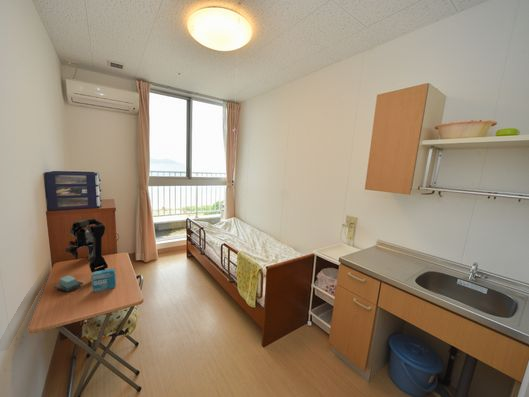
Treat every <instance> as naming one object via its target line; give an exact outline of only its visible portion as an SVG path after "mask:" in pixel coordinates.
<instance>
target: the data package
mask: <svg viewBox="0 0 529 397" xmlns="http://www.w3.org/2000/svg"><path fill="white" fill-rule="evenodd" d="M90 279H91V288H92V292H94V293H97V292H103V291H106V290H110V289H111V290H112V289H115V287H116V284H117V278H116V271H115V269H114V268H106V269H105V270H101V271H96V272H92V274H91V278H90Z"/></svg>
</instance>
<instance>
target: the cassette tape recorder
mask: <svg viewBox="0 0 529 397" xmlns="http://www.w3.org/2000/svg"><path fill="white" fill-rule="evenodd" d="M86 238H88V239H87V242H89V241H93V237H92V236H91V235H90V232H89V231H88V230H87V229H86ZM86 247H87V248H86V249H87V257H88V259H87V260H88V261H90V258H91V257H93V251H92V253H91V255H89V248H88V246H86Z"/></svg>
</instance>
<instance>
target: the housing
mask: <svg viewBox="0 0 529 397" xmlns="http://www.w3.org/2000/svg"><path fill="white" fill-rule="evenodd" d="M77 281H78V280H77V278H75V277H73V276H71V275H66V276H63V277H61V278H59V284H61V285H63V286H65V287H67V288H69V287H72V286H74V285H77Z"/></svg>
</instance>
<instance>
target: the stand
mask: <svg viewBox="0 0 529 397" xmlns="http://www.w3.org/2000/svg"><path fill="white" fill-rule="evenodd" d="M83 284H84V282H82V281H78V280H77V285H74V286H72V287H69V288H67V287H65V286H63V285H61V284H60V283H57V284H56V285H55V284H54V286H53V288H55V289H57V290H59V291H61V292H62V291H63V292H66V293H70V292H72V291H74V290H77V289H78V288H81V285H83Z"/></svg>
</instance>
